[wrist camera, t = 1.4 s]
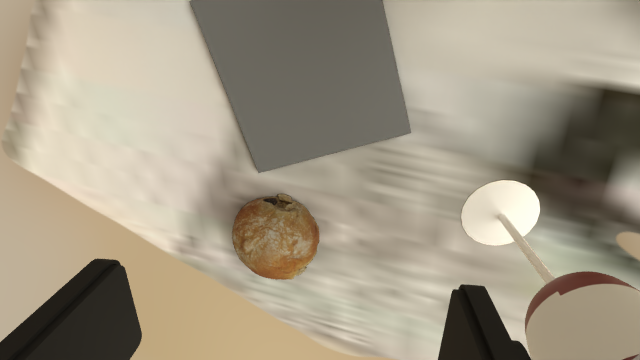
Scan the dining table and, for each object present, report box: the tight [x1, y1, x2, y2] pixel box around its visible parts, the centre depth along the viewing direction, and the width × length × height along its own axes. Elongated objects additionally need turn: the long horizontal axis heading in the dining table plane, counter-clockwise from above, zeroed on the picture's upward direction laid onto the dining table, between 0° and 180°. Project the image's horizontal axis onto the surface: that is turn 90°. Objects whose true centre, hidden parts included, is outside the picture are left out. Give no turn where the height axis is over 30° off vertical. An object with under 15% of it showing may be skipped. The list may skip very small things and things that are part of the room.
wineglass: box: [461, 180, 640, 360], centre depth 29 cm, size 9×10×22 cm
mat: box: [190, 0, 411, 173], centre depth 35 cm, size 17×18×1 cm
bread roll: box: [232, 194, 319, 279], centre depth 41 cm, size 10×10×8 cm
